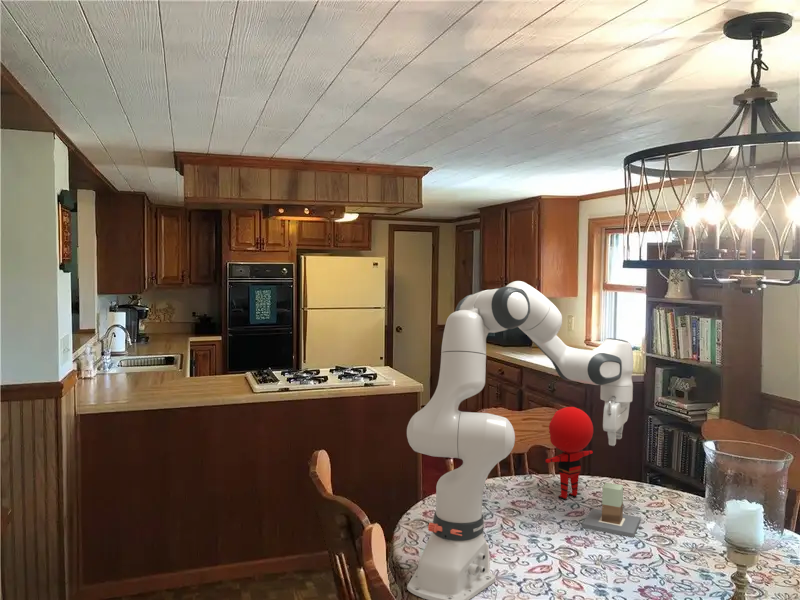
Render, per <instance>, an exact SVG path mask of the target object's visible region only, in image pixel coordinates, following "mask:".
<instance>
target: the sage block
mask: <svg viewBox="0 0 800 600" xmlns="http://www.w3.org/2000/svg"><path fill="white" fill-rule="evenodd" d="M601 491H602V494H601V495H602V497H601V498H602V499H601V505H602V504H603V505H609V506H615V507H621V505H622V503H623V504H624V485H623V484H618V483H612V482H605V483H604V484H603V485H602V490H601Z"/></svg>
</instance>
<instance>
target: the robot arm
mask: <svg viewBox="0 0 800 600" xmlns="http://www.w3.org/2000/svg"><path fill="white" fill-rule="evenodd" d="M562 325H563V315H562V313H561V312H560V310H559V308H558V307H557V306H556V305H555V304H554V303H553V301H551V300H550V299H549V298H548V297H546V296H545V295H544V294H543V293H541V292H540V291H539V290H537V289H536V288H534V286H532V285H530V284H528V283H527V282H525V281H521V280H515V281H512V282H510V283H508V284H507V285H505V286H502V287H499V288H494V289H485V290H481V291H478V292H476V293H472V294H469V295H466V296H465V297H464V298H462V299H461V300H460V301H459V302H457V305H456V307H455V311H454V312H452V313H450V314H449V316H448V317H447V319H446V322H445V326H444V330H443V335H442V342H441V351H440V352H441V353H440V354H441V355H440V366H439V367H440V368H439V376H438V381H437V386H436V389H435V391H434V393H433V395H432V397H431V398H430V400H429V401H428V402H427V404H426V405H424V407H422V408H421V409H420V410H418V411H417V412H415V413H414V414H413V415H412V416H411V418H410V419H409V421H408V424H407V427H406V438H407V442H408V444H409V446H410V447H411V449H412V450H413V452H415V453H420V454H423V455H427V456H431V457H436V458H437V457H438V458H450V459H451V458H453V459H455V458H456V459H460V460H462V464H461V465H460V466H458V468H455V469H452V470H450V471H447V472H446V473H444V474H443V475H441V476H440V478H439V479H438V481H437V483H436V486H435V488H436V490H435V491H436V493H435V494H436V495H435V496H436V497H435V512H434V513H433V518H432V522H428V525H427V530H428V532H431V533H430V536H429V538H428V541H426V545H425V546H424V549H423V551H422V554H421V556H420V557H419V561H418V565H417V566H418V567H417V569H416V570H415V572H414V574H413V575H412V577H411V579H410V580H409V582H408V583H407V585H406V586H407V587H406V589H407V590H408V592H410V593H411V594H413V595H415V596H416V597H420V598H422V599H424V600H425V599H426V600H471V599H473V598H474V597H475V596H477V595H478V594H480V593H481V592H482V591H484V590H486V589H487V588H488V587H490V586H491V585H492V584H494V583H496V576H495V574H493V573H492V572H491V569H490V567H491V566H490V565H491V563H490V547H489V546H490V545H489V543H488V541H487V539H485V536H484V534H483V533H484V530H485V529H484V527H485V520H484V514H483V497H484V490H485V489H484V488H485V485H486V481H487V478H488V476H489V475H490V473H491V472H492V470H493V469H494V468H495V466H496V465H497V464H499V463H500V462H501V461H503V460H504V459H506V458H507V457H508V456H509V455H510V453H511V452H512V451H513V450H514V446H515V442H516V433H515V429H514V427H513V425H512V423H511V422H510V420H509V419H508V418H507V417H504V416H501V415H497V414H493V413H488V412H471V411H461V410H459V407H460V405H461V403H462V402H463V401H465V400H466V399H469V398H471V397H473V396H475V395H478V394H479V393H480V392H481V391H483V389H484V387H485V385H486V370H487V367H486V364H487V337H488V335H489V333H499V332H504V331H507V330H513V329H516V328H519V330H521V331H522V332H523V333H524V334H525V335H527V337H528V338H529V340H531V341H532V343H533V344H534V345H535V346H536V347H537V348H538V349H539V350H540V351H541V352H542V353H543V354H544V355H545V356H546V357H547V358H548V359H549V361H550V362H551V364H553V367H554V368H555V371H556V373H557V374H558V377H560V378H561V379H562V380H565V381H567V382H576V383H577V382H578V383H583V384H589V385H595V386H600V396H599V398H600V400H602V401H603V402H604V406H603V415H602V416H603V417H602V429H603V431H604V432H607V439H608V445H609V446H612V447H615V445H616V444H617V440H621V439H622V438H623V430H624V425H625V423H626V422H628V419H629V413H630V405H631V403H632V402H633V398H634V397H633V394H634V392H633V391H634V383H633V380H632V378H633V377H632V376H633V372H634V353H633V347H632V344H631V343H630V342H628V341H627V340H624V339H620V338H619V339H617V338H613V337H611V338H610V337H608V338H605V339H604V340H603V342H602V343H601V344H600V345H599V346H597V347H595V348H593V349H583V348H577V347H573V346H568V345H567V344H566V343H565V342H564V341H562V339H561V338H560V337H559V336H558V334H559V332H560V330H561V328H562Z"/></svg>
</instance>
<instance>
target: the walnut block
mask: <svg viewBox="0 0 800 600" xmlns="http://www.w3.org/2000/svg"><path fill="white" fill-rule="evenodd" d="M601 510H602V521H603V522H608V523H613V524H619V525H620V523H621V521H622V519H623V514H624V502H623V503H622V505H621V507H615V506H609V505H603V504H602V503H601Z"/></svg>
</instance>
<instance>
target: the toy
mask: <svg viewBox="0 0 800 600" xmlns="http://www.w3.org/2000/svg"><path fill="white" fill-rule="evenodd" d="M548 430H549V431H548V433H549V435H550V436H549V437H550V439H549V441H550V443H551V445H553V446H554V448H556V449H558V450H560V451H561V453H559V454H557V455H555V456H553V457H550V458H546V459H545V463H547V464H549V463H557V462H558V466H557V467H558V473H559V481H560V482H559V483H560V495H558V496H557V497H558V499H560V500H562V499H563V501H567V500H568V499H567V498H568V496H569V497H573V499H575V498H577V497H578V487H579V479H580V478H579V477H580V474H581V468H582V465H581V460H580V459H582V458H583V457H586V456H589V455H591V454H593V450H584V449H585V448H586V447H587V446H588V445H589V443H590V442H591V441H592V438H593V434H594V425H593V422H592V420H591V417H590V415H588V414H587V413H586V412H585V411H584V410H583V409H580V408H577V407H575V406H566V407H562V408H560V409H558V410H557V411H555V413H554V415H552V418H551V421H550V422H549V425H548ZM569 481H570V487H571V492H569V491H568V490H569Z"/></svg>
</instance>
